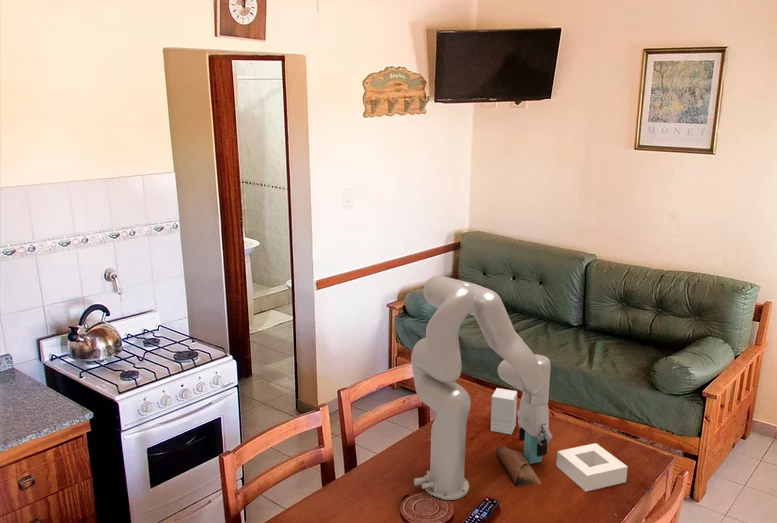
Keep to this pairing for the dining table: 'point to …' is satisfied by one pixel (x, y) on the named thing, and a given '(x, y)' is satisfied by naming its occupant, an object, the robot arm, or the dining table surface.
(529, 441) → the teal post
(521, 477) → the sunglasses case
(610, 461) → the well block
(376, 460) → the dining table surface
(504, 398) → the supplement box
